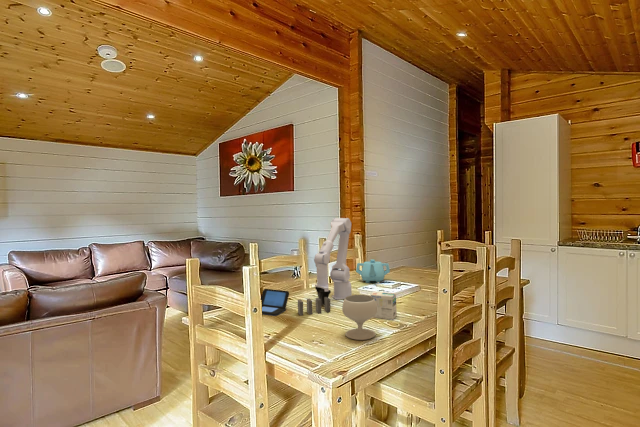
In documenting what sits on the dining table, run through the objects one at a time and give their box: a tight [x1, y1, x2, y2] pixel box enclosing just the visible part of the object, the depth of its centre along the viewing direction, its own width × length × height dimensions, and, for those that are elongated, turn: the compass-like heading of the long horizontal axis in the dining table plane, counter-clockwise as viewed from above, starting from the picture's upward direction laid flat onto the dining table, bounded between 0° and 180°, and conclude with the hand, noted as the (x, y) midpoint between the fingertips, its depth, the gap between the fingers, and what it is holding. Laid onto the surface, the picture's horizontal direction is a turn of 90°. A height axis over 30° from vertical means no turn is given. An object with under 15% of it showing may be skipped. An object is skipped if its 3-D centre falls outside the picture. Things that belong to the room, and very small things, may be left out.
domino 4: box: [315, 297, 323, 315], centre depth 183 cm, size 2×4×6 cm, turn 16°
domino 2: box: [306, 298, 313, 316], centre depth 181 cm, size 2×4×6 cm, turn 16°
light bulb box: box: [370, 290, 397, 320], centre depth 174 cm, size 11×7×11 cm, turn 65°
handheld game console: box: [260, 288, 290, 317], centre depth 187 cm, size 16×13×9 cm
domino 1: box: [297, 299, 304, 317], centre depth 180 cm, size 2×4×6 cm, turn 16°
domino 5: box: [324, 297, 331, 313], centre depth 184 cm, size 2×4×6 cm, turn 16°
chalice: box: [341, 294, 377, 341], centre depth 151 cm, size 14×14×15 cm
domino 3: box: [317, 292, 325, 307], centre depth 195 cm, size 2×4×6 cm, turn 106°
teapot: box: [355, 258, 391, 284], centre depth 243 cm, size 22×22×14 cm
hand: (323, 302), depth 195 cm, fingers open, 6 cm apart
